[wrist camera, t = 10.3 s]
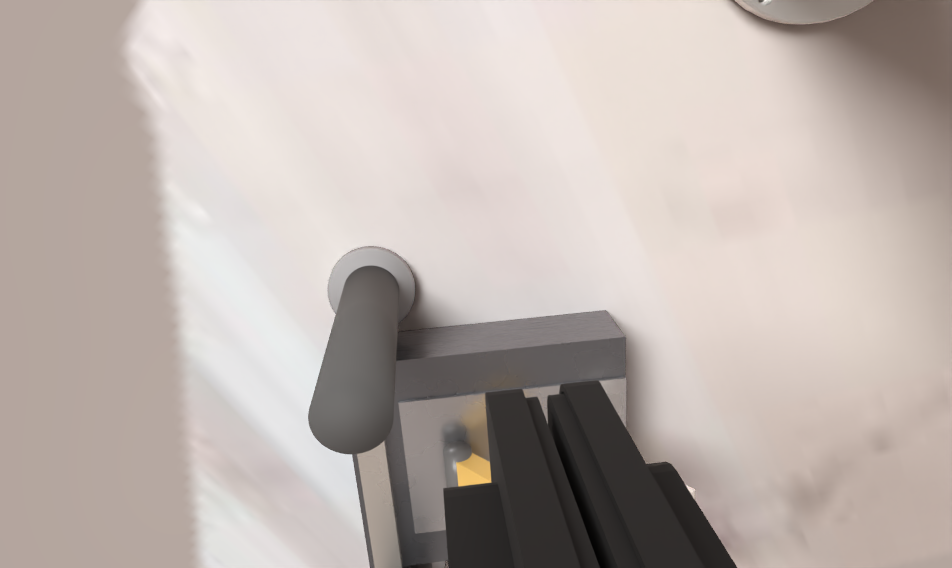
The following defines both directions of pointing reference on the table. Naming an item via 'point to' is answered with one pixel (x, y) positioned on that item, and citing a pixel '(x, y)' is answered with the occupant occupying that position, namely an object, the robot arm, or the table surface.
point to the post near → (361, 350)
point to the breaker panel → (467, 414)
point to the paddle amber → (464, 466)
